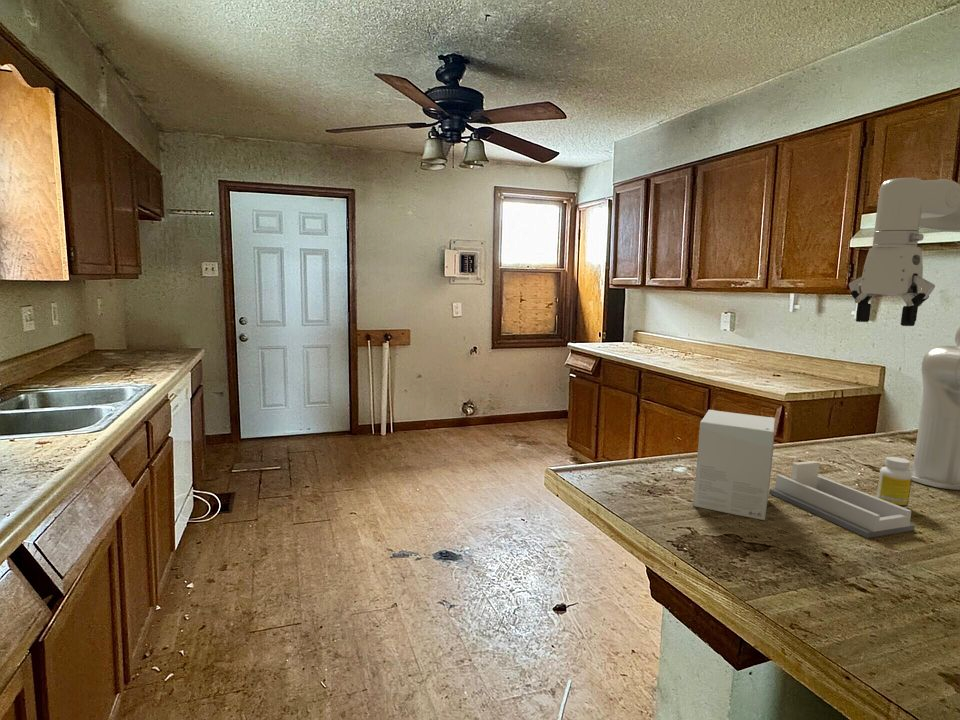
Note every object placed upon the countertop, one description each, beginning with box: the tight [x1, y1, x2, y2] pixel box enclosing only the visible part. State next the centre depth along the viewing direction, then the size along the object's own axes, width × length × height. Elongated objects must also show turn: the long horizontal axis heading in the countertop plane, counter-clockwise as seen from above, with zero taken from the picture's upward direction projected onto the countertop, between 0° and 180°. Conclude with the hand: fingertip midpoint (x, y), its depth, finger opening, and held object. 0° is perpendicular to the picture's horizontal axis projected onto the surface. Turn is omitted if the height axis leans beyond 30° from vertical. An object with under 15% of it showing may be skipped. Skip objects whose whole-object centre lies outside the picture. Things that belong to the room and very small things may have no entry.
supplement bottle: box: [875, 456, 913, 509], centre depth 118 cm, size 5×5×10 cm
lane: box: [768, 474, 916, 539], centre depth 115 cm, size 12×22×4 cm, turn 19°
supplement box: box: [692, 409, 776, 521], centre depth 116 cm, size 13×13×18 cm
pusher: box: [790, 460, 820, 489], centre depth 122 cm, size 6×1×6 cm, turn 109°
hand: (884, 323), depth 121 cm, fingers open, 9 cm apart
